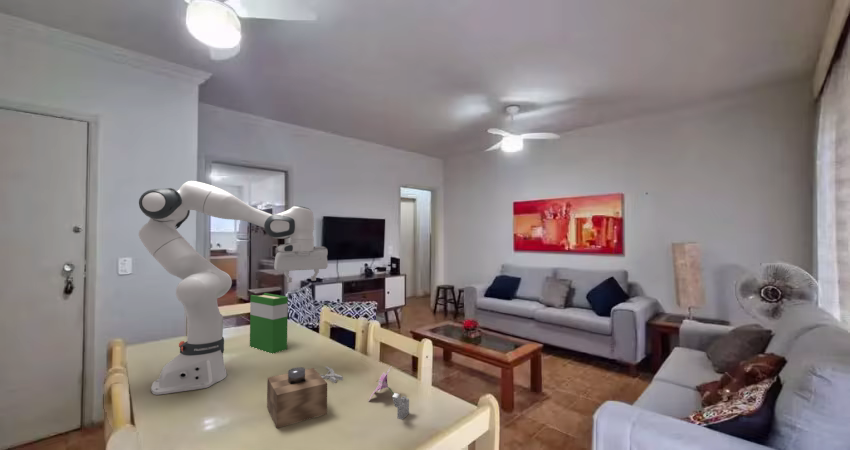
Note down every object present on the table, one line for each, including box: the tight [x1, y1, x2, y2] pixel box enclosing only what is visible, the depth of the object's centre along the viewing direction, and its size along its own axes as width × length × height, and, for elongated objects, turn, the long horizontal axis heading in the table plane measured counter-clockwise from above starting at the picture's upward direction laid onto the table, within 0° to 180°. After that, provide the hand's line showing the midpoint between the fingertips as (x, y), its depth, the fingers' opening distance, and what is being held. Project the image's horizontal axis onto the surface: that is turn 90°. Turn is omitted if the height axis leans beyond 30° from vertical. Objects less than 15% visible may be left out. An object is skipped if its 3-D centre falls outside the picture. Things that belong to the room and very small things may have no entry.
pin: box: [287, 366, 306, 385], centre depth 106 cm, size 5×5×10 cm
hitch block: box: [266, 367, 328, 429], centre depth 106 cm, size 14×14×9 cm
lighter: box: [391, 392, 410, 421], centre depth 102 cm, size 7×2×8 cm, turn 154°
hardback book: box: [249, 292, 289, 355], centre depth 164 cm, size 18×7×24 cm, turn 57°
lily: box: [368, 365, 395, 402], centre depth 116 cm, size 12×12×10 cm
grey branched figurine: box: [319, 366, 344, 384], centre depth 132 cm, size 10×2×15 cm
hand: (301, 281), depth 141 cm, fingers open, 8 cm apart
